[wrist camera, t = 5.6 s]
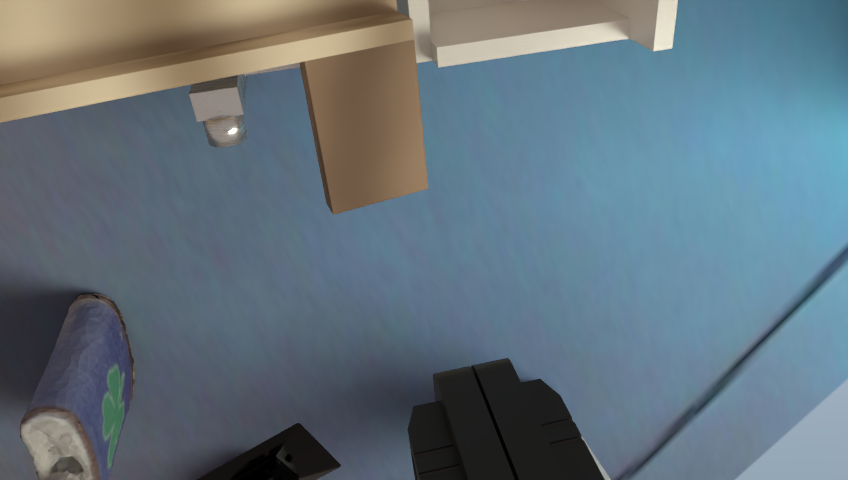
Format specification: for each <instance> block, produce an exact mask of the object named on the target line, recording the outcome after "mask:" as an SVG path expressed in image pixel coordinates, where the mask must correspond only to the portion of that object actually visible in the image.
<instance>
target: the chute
mask: <svg viewBox="0 0 848 480" xmlns="http://www.w3.org/2000/svg"><path fill="white" fill-rule="evenodd" d="M294 63H300V68H301V73H302V78H303V84H304V89H305V94H306V99H307V104H308V110H309V115H310V120H311V125H312V130H313V136H314V141H315V146H316V151H317V156H318V162H319V167H320V172H321V177H322V182H323V188H324V193H325V198H326V203H327V205H328V207H329V208H330V210H331V212H332V213H333V215H334V214H337V213H341V212H345V211H348V210H352V209H355V208H359V207H363V206H366V205H370V204H374V203H377V202H381V201H385V200H388V199H392V198H396V197H399V196H403V195H407V194H410V193H414V192H418V191H421V190H425V189H428V181H427V170H426V160H425V149H424V138H423V127H422V117H421V106H420V95H419V84H418V74H417V63H416V52H415V41H414V30H413V20H412V19H411V18H409V17H408V16H406V15H404V14H402V13H400V12H398V11H397V2H396V0H0V123H1V122H6V121H11V120H16V119H21V118H26V117H31V116H36V115H41V114H46V113H51V112H56V111H60V110H65V109H70V108H75V107H80V106H85V105H90V104H95V103H100V102H105V101H110V100H115V99H120V98H125V97H130V96H135V95H140V94H145V93H150V92H155V91H160V90H165V89H170V88H175V87H180V86H185V85H190V84H195V83H200V82H205V81H210V80H215V79H220V78H225V77H230V76H235V75H240V74H244V73H249V72H254V71H259V70H264V69H269V68H274V67H279V66H284V65H289V64H294Z"/></svg>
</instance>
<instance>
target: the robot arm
mask: <svg viewBox="0 0 848 480" xmlns="http://www.w3.org/2000/svg"><path fill="white" fill-rule="evenodd" d="M433 380H434V390H435V399H436V402H432V403H427V404H423V405H418V406H414V407H413V411H412V415H411V419H410V423H409V427H408V434H409V441H410V448H411V455H412V462H413V469H414V476H415V480H605V479H604V477H603V475H602V473H601V471H600V470H599V468H598V466H597V464H596V462H595V460H594V458H593V456H592V455H591V453H590V451H589V449H588V447H587V445H586V443H585V441H584V440H582V437H581V434H580V432H579V430H578V428H577V426H576V424H575V423H574V422H573V421H572V417H571V415H570V413H569V411H568V409H567V407H566V406H565V404H564V402H563V400H562V398H561V396H560V395H559V394H558V393H556V392H555V391H554V390H553V389H552V388H550V387H549V386H548V385H547V384H546V383H544V382H543V381H542V380H541V379H537V380H532V381H528V382H523V383H521V382H520V380H519V378H518V376H517V373H516V371H515V369H514V367H513V365H512V363H511V361H510V360H509V359H508V358H505V359H500V360H496V361H491V362H486V363H481V364H477V365H472V366H471V367H470V366H468V367H463V368H459V369H454V370H449V371H445V372H440V373H435V374H433Z"/></svg>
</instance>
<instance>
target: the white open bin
mask: <svg viewBox="0 0 848 480" xmlns="http://www.w3.org/2000/svg"><path fill="white" fill-rule="evenodd" d="M396 2H397V11H398V12H400V13H402V14H404V15H406V16H408V17H409V18H411V19H412V20H413V30H414V41H415V52H416V63H420V62H426V61H434V63H435V64H436V65H437V67H445V66H452V65H458V64H465V63H471V62H478V61H484V60H491V59H498V58H504V57H511V56H517V55H524V54H530V53H537V52H544V51H550V50H557V49H563V48H570V47H576V46H583V45H590V44H596V43H603V42H609V41H616V40H622V39H631V40H633V41H635V42H637V43H638V44H640V45H642V46H644V47H646V48H648V49H650V50H652V51H659V50H665V49H672V45H673V37H674V29H675V21H676V13H677V5H678V0H396Z"/></svg>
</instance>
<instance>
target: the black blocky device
mask: <svg viewBox="0 0 848 480" xmlns="http://www.w3.org/2000/svg"><path fill="white" fill-rule="evenodd" d="M340 466H341V465H340V464H339V463H338V462H337V461H336V460H335V458H334V457H333V456H332V455H331V454H330V453H329V452H328V451H327V450H326V449H325V448H324V447H323V446H322V445H321V444H320V443H319V442H318V441H317V440H316V439H315V438H314V437H313V436H312V435H311V434H310V433H309V432H308V431H307V430H306V429H305V428H304V427H303V426H302V425H301V424H299V423H297V424H295V425H293V426H291V427H290V428H288V429H286V430H284V431H282V432H281V433H279V434H277V435H275V436H274V437H272V438H270V439H268V440H266V441H265V442H263V443H261V444H259V445H257V446H256V447H254V448H252V449H250V450H249V451H247V452H245V453H243V454H241V455H240V456H238V457H236V458H234V459H233V460H231V461H229V462H227V463H225V464H224V465H222V466H220V467H218V468H216V469H215V470H213V471H211V472H209V473H208V474H206V475H204V476H202V477H200V478H199V479H197V480H316V479H318V478H320V477H322V476H324V475H326V474H328V473H329V472H331V471H333V470H335V469H337V468H339V467H340Z"/></svg>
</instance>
